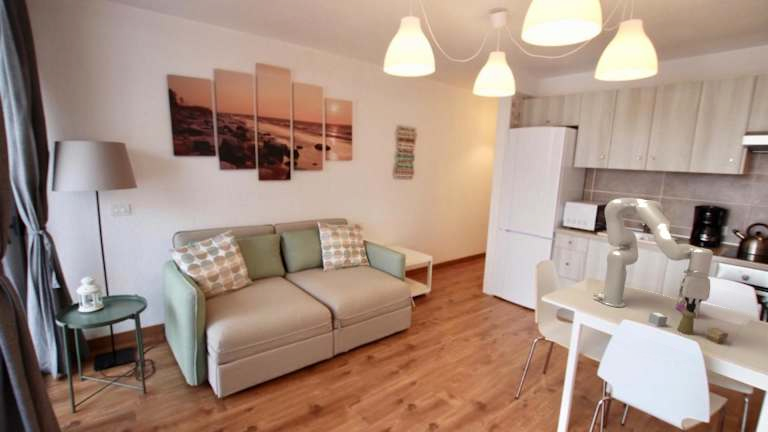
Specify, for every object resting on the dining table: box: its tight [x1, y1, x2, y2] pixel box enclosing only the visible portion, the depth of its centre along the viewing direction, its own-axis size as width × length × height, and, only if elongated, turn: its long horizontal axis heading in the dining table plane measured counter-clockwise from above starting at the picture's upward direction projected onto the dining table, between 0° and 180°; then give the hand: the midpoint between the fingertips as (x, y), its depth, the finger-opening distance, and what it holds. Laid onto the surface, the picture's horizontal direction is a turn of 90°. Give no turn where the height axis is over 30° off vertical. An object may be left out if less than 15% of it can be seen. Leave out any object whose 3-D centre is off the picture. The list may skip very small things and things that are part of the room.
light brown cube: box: [705, 327, 729, 345], centre depth 164 cm, size 5×5×5 cm
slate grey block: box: [647, 311, 668, 327], centre depth 179 cm, size 5×5×5 cm
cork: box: [676, 310, 696, 336], centre depth 171 cm, size 6×6×11 cm
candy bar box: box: [675, 280, 702, 319], centre depth 192 cm, size 11×5×16 cm, turn 168°
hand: (689, 310), depth 170 cm, fingers closed
